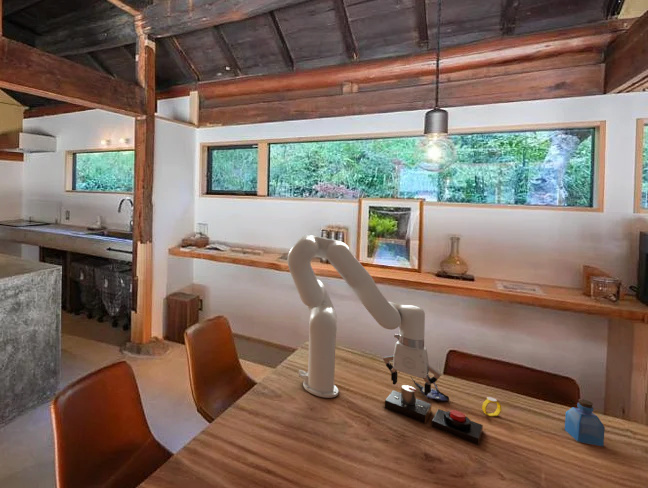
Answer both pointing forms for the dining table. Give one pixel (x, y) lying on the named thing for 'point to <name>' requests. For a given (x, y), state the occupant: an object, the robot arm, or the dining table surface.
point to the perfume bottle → (584, 424)
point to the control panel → (408, 407)
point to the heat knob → (408, 395)
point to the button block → (458, 427)
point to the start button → (457, 415)
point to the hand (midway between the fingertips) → (410, 388)
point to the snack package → (433, 393)
